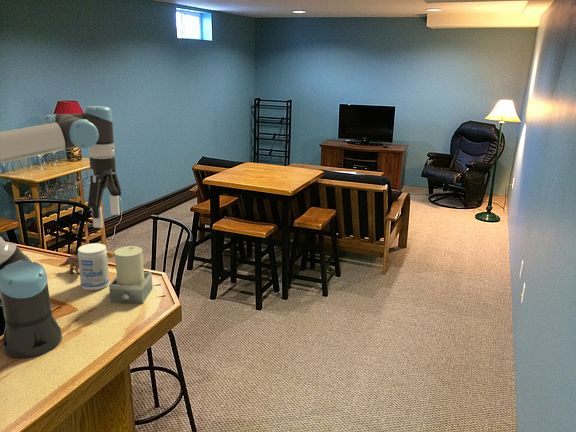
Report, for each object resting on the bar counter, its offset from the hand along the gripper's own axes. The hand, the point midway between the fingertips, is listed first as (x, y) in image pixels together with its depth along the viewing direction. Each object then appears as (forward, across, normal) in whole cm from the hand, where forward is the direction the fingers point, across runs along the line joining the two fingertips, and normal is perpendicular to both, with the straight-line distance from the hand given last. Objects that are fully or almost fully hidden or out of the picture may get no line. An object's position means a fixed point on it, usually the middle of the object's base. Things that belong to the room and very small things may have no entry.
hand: (107, 220), depth 156 cm
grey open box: (+28, +2, -6) cm, 28 cm away
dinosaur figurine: (+28, +19, +21) cm, 40 cm away
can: (+23, +2, -6) cm, 24 cm away
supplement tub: (+28, +8, +10) cm, 31 cm away
